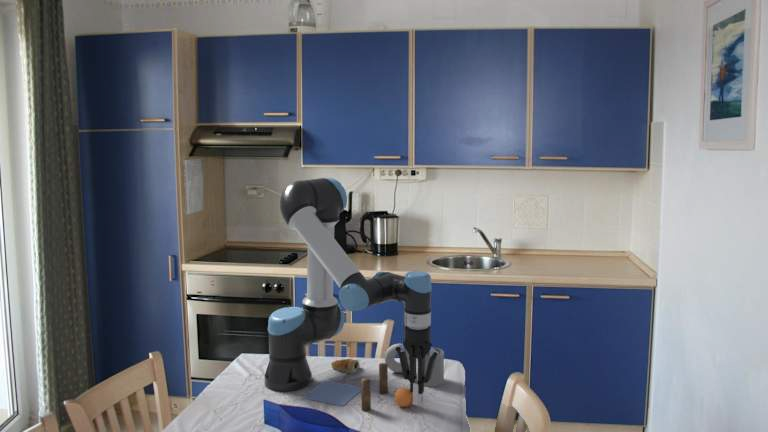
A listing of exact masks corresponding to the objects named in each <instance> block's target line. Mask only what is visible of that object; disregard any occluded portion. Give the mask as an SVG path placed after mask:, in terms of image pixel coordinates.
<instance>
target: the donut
mask: <svg viewBox="0 0 768 432" xmlns="http://www.w3.org/2000/svg"><path fill="white" fill-rule="evenodd" d="M402 344H403V343H394V344H392V345H391V346H389V347H388V348H387V349H386V351H385V353H384V363H386V364H388V369H389V370H390V371H391V372H393V373H396V374H403V372H402V367H401V363H400V362H398V361H397V360H396V359H395V357H396V356H397V355H398V353H397V351H396V347H397V346H399V345H402ZM405 352H406V356H407V361H408V365H409V370H410V360H409V354H408V352H407V351H406V349H405Z"/></svg>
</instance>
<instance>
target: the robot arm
mask: <svg viewBox="0 0 768 432" xmlns="http://www.w3.org/2000/svg"><path fill="white" fill-rule="evenodd" d="M347 205H348V196H347V192H346V189H345V188H344V186H343V185H342V183H341V182H340V181H339V180H337V179H335V178H332V177H331V178H330V177H329V178H328V177H319V178H312V179H305V180H301V179H300V180H295V181H292V182H291V183H290V184H288V185H287V186H286V187H284V189H283V190H282V193H281V195H280V198H279V210H280V214H281V216H282V218H283V220H284V222H285V223H286V225H287V226H288V228H289V229H290V230H293V231H296V232H297V233H298V235H299V236H300V238H301V239H302V240H303V241H304V243H305V244H306V246H307V260H306V262H307V263H306V264H307V269H306V271H307V272H306V273H307V274H306V277H307V278H306V280H307V281H306V285H307V286H306V296H305V297H304V298H303V299H302V305H301V307H300V306H289V307H283V308H278V309H276V310H275V311H273V312H272V313H271V314H270V315H269V316H268V317H269V318H268V321H267V322H268V325H267V331H268V354H269V355H268V356H269V357H268V359H269V360H268V363H267V367H266V370H265V373H264V385H265V387H266V388H267V389H270V390H272V391H273V390H274V391H279V392H290V391H297V390H301V389H304V388H306V387H308V386H309V385H311V383H312V382H313V373H312V371H311V366H310V365H309V362H308V359H307V346H310V345H312V344H317V343H320V342H322V341H325V340H327V341H328V340H330V339H332V338H333V337H336V336H338V334H340V333H341V332H342V330H343V329H344V326H345V312H344V311H343V309H345V310H346V311H349V312H357V311H361V310H364V309H366V308H368V307H372V306H374V305H380V304H383V303H386V302H390V301H396V302H399V303H404V325H405V326H404V334H403V335H404V337H403V338H404V340H403V342H402V343H401V344H402V345H399V346H397V347H396V351H397V353H398V354H397V355H398V358H399V363H401V367H402V372H403V373H402V375H403V379H404V380H406V381H407V380H408V381H409V389H410V392H412V393H413V402H412V405H413V406H419V405H420V403H421V402H422V394H423V393H424V392H425V386H424V383H427V382H428V381H429V380H430V379H431V375H432V371H433V367H434V364H435V360H436V357H437V356H438V354H439V353H440V352H439V351H438V350H435V349H433V348H432V347H433V344H432V342H431V333H432V327H431V324H432V306H431V304H432V303H431V302H432V290H433V288H432V277H431V275H430V273H429V272H427V271H423V270H422V271H421V270H411V271H407V272H406V273H405V275H401V274H396V273H393V272H389V271H379V272H376V274H374V275H373V276H372V278H369V279H366V277H365V275H364V274H362V273H361V271H360V270H359V268H358V267H357V266H356V265H355V263H354V262H353V261H352V259H351V258H350V257H349V255H348V254H347V253H346V251H345V250H344V248H342V246H341V245H340V244H339V243H338V241H337V240H336V239H335V226H336V224H338V222H340V214H342V212H343V211H344V210H345V209H346V208H347ZM334 282H335V283H336V286H337V287H338V288H339V289H340V290H339V293H338V297H339V298H338V299H337V298H336V297H335V296H334ZM338 300H340V304H339V303H338ZM342 307H343V308H342ZM405 349H406V351H407V352H408V354H409V360H410V369H409V365H408V361H407V356H406V352H405ZM429 351H430V356H431V357H430V359H429V363H428V366H427V370H426V374H425V356H426V354H427V353H428V352H429ZM417 360H418V380H417Z"/></svg>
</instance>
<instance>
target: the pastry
mask: <svg viewBox="0 0 768 432" xmlns="http://www.w3.org/2000/svg"><path fill="white" fill-rule="evenodd" d="M330 365H331V367H332V369H333V370H335V369H336V371H338V372H340V371H342V373H345V372H348V373H347V374H354V373H356V372H357V370H359V369H360V366H361V365H360V362H359V360H358V359H352V358H346V359H345V358H342V359H337V360H335V361H333V362H331V364H330Z"/></svg>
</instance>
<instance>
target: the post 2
mask: <svg viewBox="0 0 768 432" xmlns="http://www.w3.org/2000/svg"><path fill="white" fill-rule="evenodd" d="M378 366H379V367H378V368H379V369H378V387H379V389H378V390H379V391H378V392H379V394H380V395H387V394H388V390H389V387H388V386H389V384H388V380H389V379H388V377H389V376H388V375H389V374H388V369H389V368H388V364H386V363H385V362H382V363H379V364H378Z"/></svg>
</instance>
